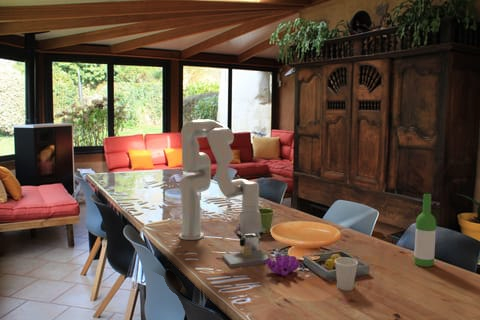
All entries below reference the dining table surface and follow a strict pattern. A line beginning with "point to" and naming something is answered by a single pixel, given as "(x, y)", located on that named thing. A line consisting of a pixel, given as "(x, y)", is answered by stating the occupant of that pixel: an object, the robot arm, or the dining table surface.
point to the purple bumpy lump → (283, 264)
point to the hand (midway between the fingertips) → (249, 246)
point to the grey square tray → (331, 274)
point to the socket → (251, 241)
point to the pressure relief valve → (331, 261)
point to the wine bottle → (425, 235)
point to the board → (247, 261)
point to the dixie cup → (345, 272)
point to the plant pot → (266, 218)
